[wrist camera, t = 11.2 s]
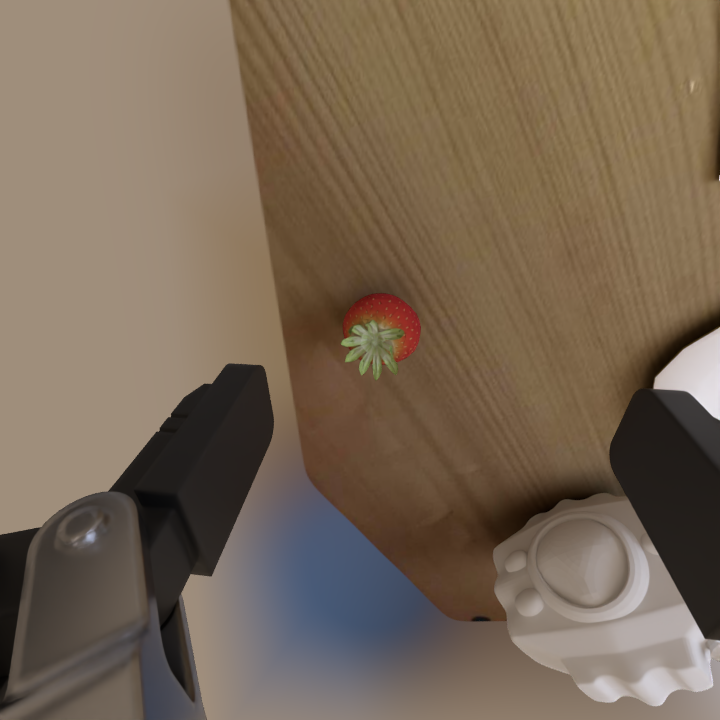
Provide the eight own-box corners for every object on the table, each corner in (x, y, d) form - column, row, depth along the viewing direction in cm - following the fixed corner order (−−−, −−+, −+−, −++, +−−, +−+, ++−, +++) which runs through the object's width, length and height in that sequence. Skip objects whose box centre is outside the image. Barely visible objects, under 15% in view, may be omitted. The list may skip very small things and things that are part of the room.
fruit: (348, 272, 29) (329, 321, 23) (419, 269, 29) (422, 318, 22) (354, 332, 32) (339, 390, 25) (419, 330, 31) (421, 390, 25)
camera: (680, 507, 39) (819, 713, 26) (515, 557, 47) (557, 736, 33) (639, 442, 35) (778, 645, 22) (466, 508, 43) (491, 688, 29)
